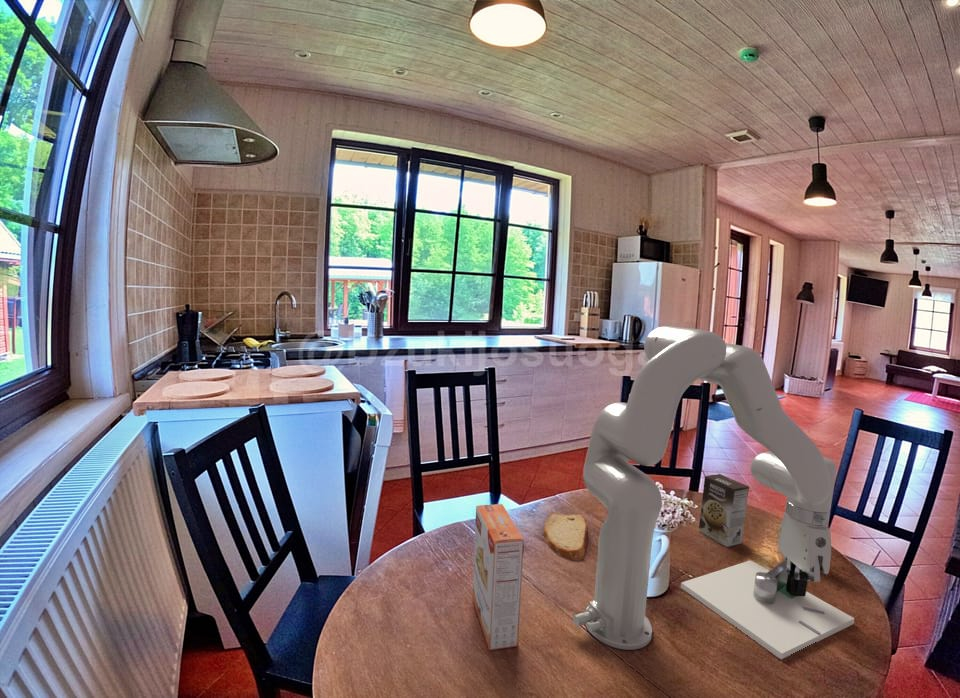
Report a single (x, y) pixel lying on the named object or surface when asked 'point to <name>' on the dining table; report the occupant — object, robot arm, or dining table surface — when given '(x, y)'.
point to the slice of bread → (566, 535)
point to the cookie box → (723, 509)
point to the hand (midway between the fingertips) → (795, 593)
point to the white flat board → (767, 610)
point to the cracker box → (497, 576)
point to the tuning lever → (770, 583)
